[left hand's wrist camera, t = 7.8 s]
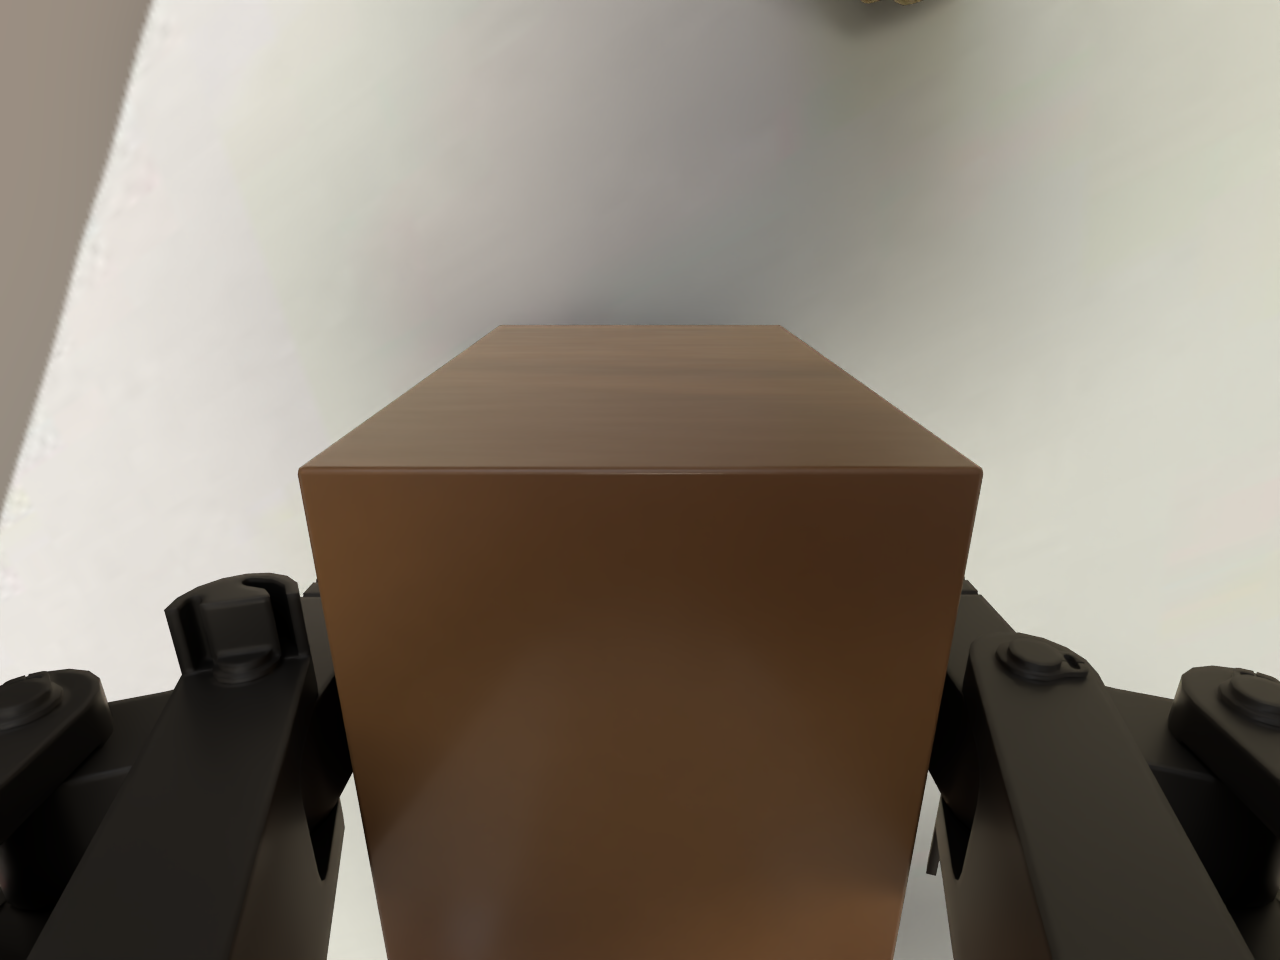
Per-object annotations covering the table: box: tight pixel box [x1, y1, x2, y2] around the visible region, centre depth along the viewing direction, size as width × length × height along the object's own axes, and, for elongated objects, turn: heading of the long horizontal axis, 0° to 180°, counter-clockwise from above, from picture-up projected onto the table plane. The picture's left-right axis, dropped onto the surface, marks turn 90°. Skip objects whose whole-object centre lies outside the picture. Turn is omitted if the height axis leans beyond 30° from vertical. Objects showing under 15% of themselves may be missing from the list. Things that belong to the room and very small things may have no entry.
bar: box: [298, 325, 983, 960], centre depth 13 cm, size 22×6×8 cm, turn 0°
